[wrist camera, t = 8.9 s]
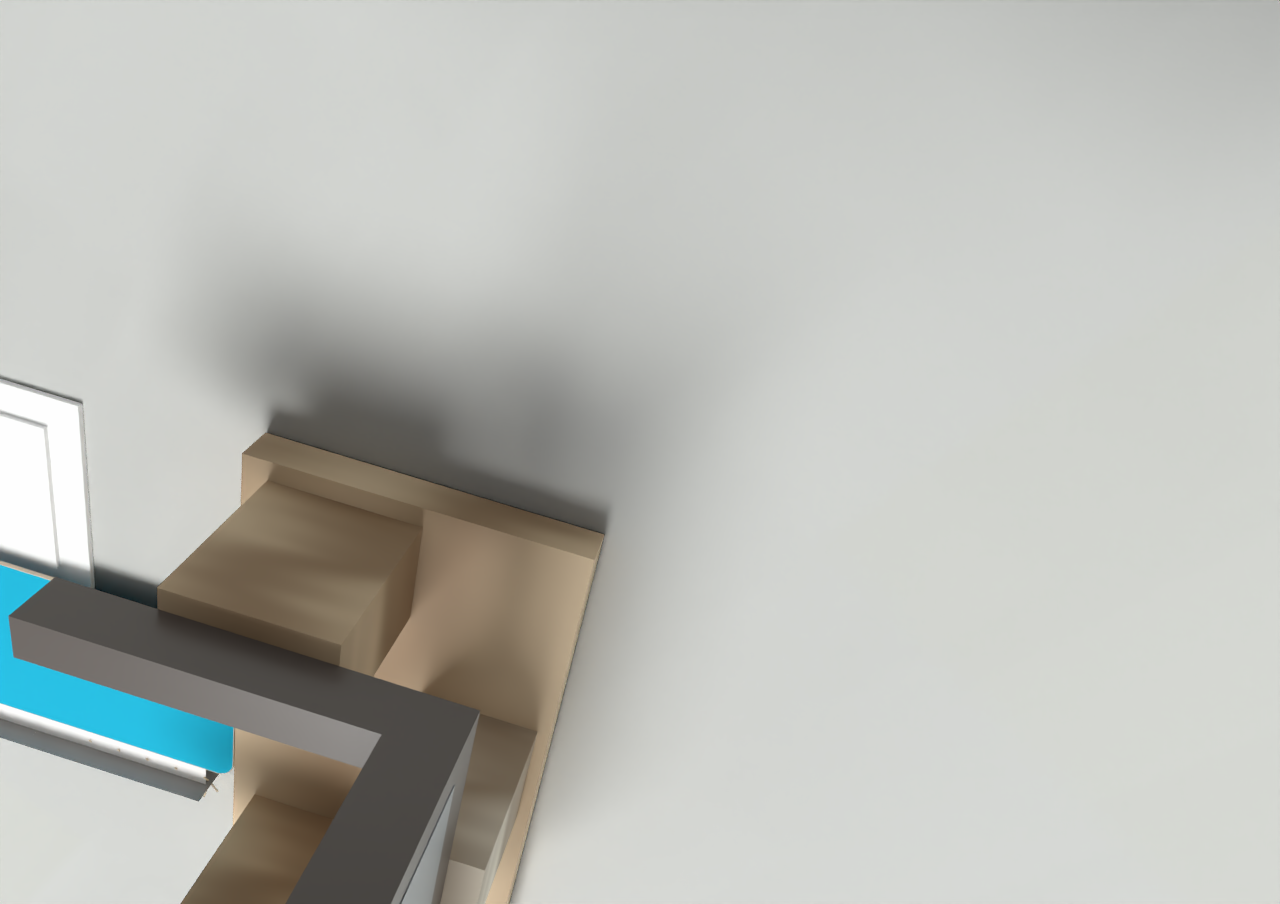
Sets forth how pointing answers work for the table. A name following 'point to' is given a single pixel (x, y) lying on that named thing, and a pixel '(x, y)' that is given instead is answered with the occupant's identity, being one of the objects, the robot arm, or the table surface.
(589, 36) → the table surface
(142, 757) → the blue flat piece
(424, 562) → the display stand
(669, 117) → the table surface
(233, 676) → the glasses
